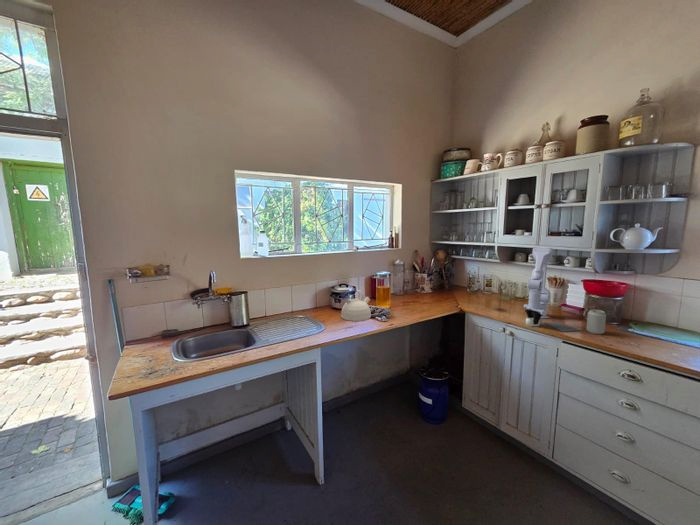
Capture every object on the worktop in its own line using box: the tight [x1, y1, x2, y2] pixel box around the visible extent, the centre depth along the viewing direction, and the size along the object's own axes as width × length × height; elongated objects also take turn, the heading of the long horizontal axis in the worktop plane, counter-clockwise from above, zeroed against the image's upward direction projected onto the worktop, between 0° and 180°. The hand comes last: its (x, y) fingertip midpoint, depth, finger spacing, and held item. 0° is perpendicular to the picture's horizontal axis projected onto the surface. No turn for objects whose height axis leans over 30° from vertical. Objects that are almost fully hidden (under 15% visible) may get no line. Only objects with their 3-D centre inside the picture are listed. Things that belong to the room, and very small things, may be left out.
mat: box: [542, 321, 581, 333], centre depth 162 cm, size 14×10×1 cm
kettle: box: [340, 289, 372, 322], centre depth 189 cm, size 20×21×18 cm
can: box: [586, 309, 607, 335], centre depth 152 cm, size 8×8×12 cm
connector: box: [525, 317, 544, 327], centre depth 165 cm, size 9×3×4 cm, turn 95°
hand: (533, 322), depth 165 cm, fingers closed on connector, 3 cm apart
